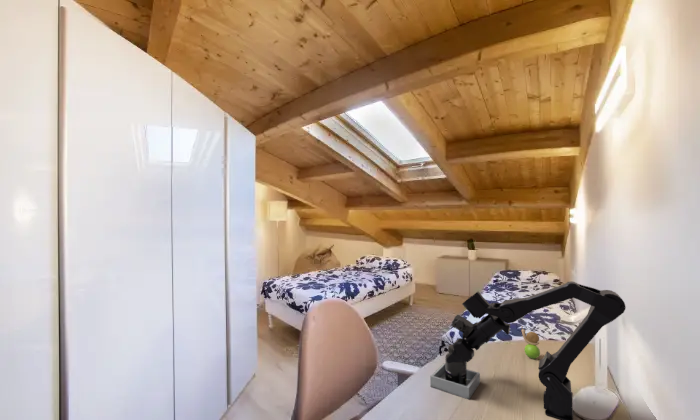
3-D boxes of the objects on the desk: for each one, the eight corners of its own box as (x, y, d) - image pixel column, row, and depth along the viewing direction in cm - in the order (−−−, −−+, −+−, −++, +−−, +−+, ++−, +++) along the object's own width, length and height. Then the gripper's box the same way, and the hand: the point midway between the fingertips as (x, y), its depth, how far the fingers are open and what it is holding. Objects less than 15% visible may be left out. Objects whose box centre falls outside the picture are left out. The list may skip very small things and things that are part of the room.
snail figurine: (522, 353, 132) (521, 324, 132) (540, 357, 129) (539, 327, 129) (521, 358, 127) (520, 328, 128) (540, 362, 124) (539, 330, 125)
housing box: (479, 383, 108) (479, 372, 108) (468, 399, 98) (468, 387, 98) (444, 372, 115) (444, 362, 115) (430, 386, 105) (430, 376, 105)
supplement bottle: (442, 384, 106) (441, 347, 106) (450, 376, 111) (449, 341, 112) (462, 390, 101) (462, 352, 102) (469, 382, 107) (469, 346, 107)
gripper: (472, 302, 113) (442, 328, 119) (459, 315, 97) (425, 344, 103) (497, 329, 108) (464, 355, 114) (487, 347, 93) (449, 376, 98)
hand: (451, 356), depth 107 cm, fingers open, 9 cm apart
